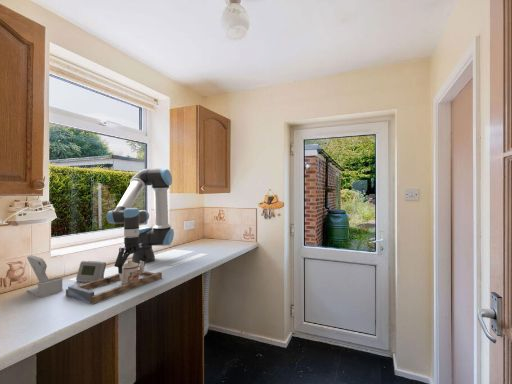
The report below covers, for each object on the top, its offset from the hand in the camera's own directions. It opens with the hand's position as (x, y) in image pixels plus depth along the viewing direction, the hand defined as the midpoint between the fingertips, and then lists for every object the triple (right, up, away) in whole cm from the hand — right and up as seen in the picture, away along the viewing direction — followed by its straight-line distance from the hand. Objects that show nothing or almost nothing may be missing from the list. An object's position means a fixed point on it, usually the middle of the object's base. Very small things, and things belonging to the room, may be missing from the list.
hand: (132, 275), depth 148 cm
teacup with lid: (0, -3, 0) cm, 3 cm away
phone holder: (-37, -4, -13) cm, 40 cm away
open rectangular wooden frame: (-4, -3, -8) cm, 9 cm away
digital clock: (-23, -3, 0) cm, 23 cm away
